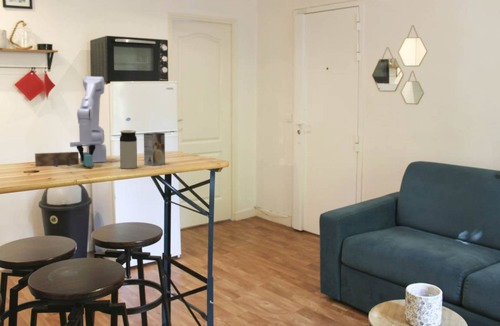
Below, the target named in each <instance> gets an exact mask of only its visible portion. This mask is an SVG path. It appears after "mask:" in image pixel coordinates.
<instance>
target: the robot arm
mask: <svg viewBox="0 0 500 326" xmlns="http://www.w3.org/2000/svg"><path fill="white" fill-rule="evenodd" d="M82 84H83V85H82V87H83V88H84V91H85V95H84V96H83V97H82V100H81V103H80V106H79V107H80V108H78V109H77V110H76V116H77V123H78V124H79V125H78V127H79V132H78V133H79V141H75V142H71V141H70V142H69V146H70V147H71V148H73V147H74V148H75V147H76V149H77V152H78V153H79V157H80V156H81V161H84V157H83V152H84V147H86V152H87V153H89V154H90V155H92V160H93V163H106V162H107V161H108V160H107V146H106V144H104V143H105V131H104V128H102V127H101V126H100V125H99V124H100V108H101V107H100V106H101V97H102V95H103V94H105V78H104V77H103V76H89V75H88V76H87V75H85V76H83V79H82Z"/></svg>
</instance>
